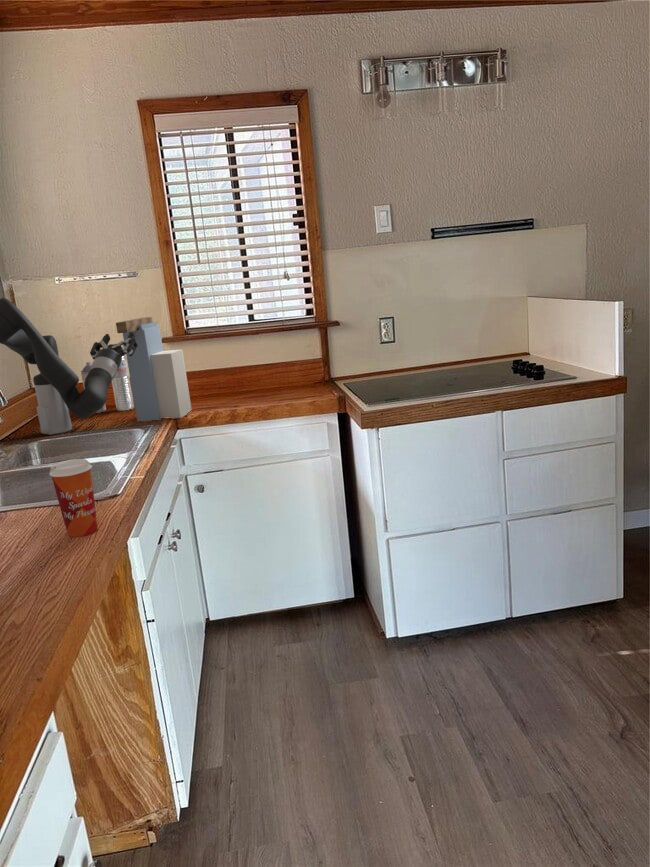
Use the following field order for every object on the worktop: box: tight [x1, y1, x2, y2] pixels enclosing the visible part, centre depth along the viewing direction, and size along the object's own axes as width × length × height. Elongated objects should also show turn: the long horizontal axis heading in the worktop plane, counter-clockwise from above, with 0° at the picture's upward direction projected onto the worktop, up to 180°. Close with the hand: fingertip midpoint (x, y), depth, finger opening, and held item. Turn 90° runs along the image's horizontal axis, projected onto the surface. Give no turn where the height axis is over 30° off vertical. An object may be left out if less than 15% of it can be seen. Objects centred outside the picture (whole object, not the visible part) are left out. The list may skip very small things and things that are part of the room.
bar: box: [115, 316, 154, 334], centre depth 220 cm, size 21×4×4 cm, turn 171°
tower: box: [122, 321, 164, 422], centre depth 228 cm, size 13×8×34 cm, turn 171°
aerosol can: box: [80, 361, 107, 415], centre depth 251 cm, size 7×7×20 cm
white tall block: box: [151, 348, 193, 419], centre depth 229 cm, size 11×8×23 cm
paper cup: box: [49, 458, 99, 538], centre depth 124 cm, size 8×8×14 cm
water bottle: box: [111, 354, 135, 412], centre depth 250 cm, size 7×7×25 cm
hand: (120, 334), depth 209 cm, fingers open, 8 cm apart
